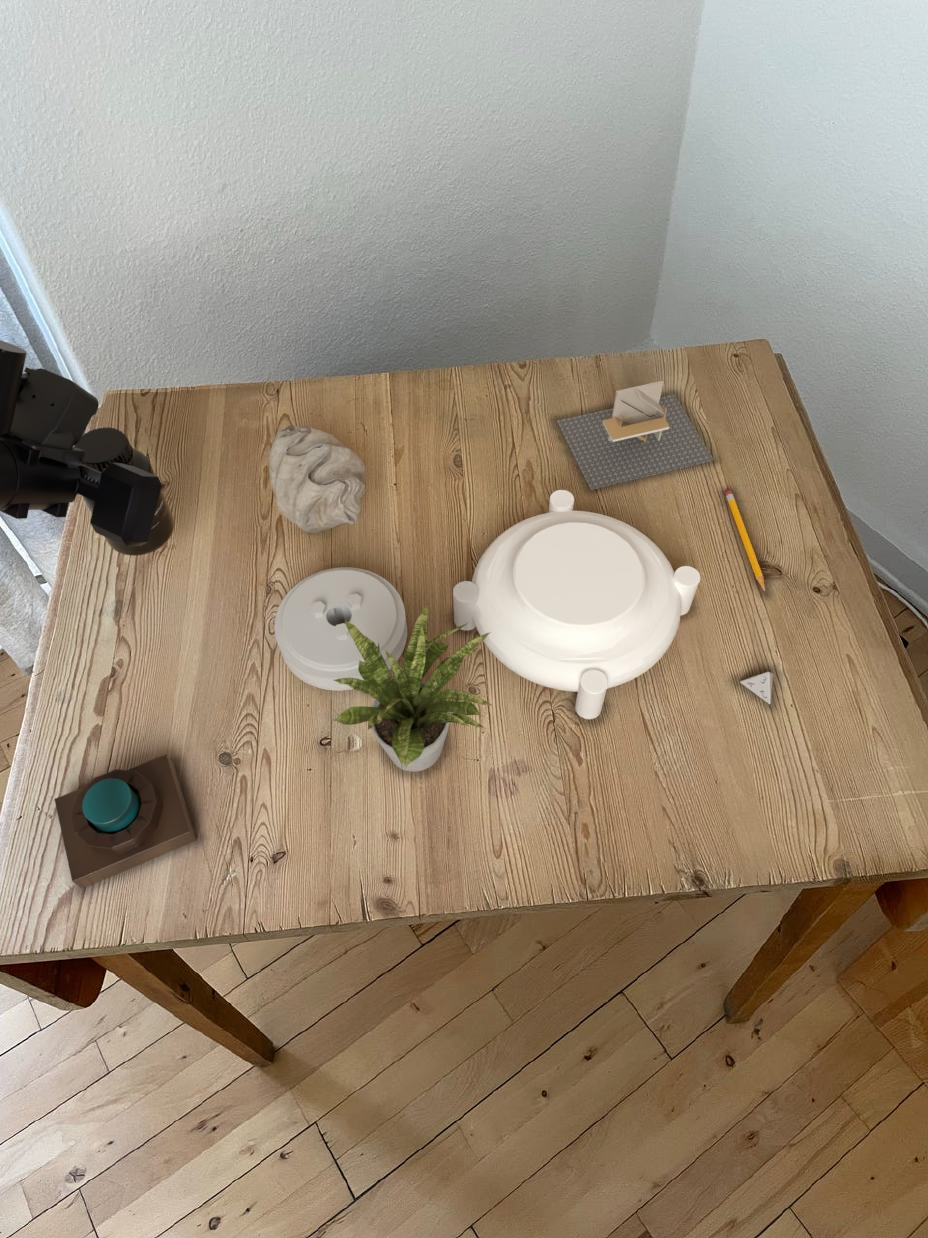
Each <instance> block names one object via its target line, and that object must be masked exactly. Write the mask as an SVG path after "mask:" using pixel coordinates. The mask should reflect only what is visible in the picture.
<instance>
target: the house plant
mask: <svg viewBox="0 0 928 1238" xmlns="http://www.w3.org/2000/svg"><path fill="white" fill-rule="evenodd" d="M428 607H429V604H427V605H425V607H424V608H423V609H422V611H421V613H420V614H419V615H418V617H417V619H416V621H415V623H414V626H413V628H412V631H411V634H410V639H409V641H408V645H407V648H406V651H405V653H404V657H403V661H402V667H401V666H400V665H399V664H398V662H397V663H396V661H395V659H394V658H393V656H392V655H390V654H389V653H388V652H387V651H386V654H387V657H388V659H389V662H390V665H391V667H392V668H391V670H392V673H393V675H394V677H393V675H392V673H391V670H389V669H388V666H387V664H386V662H385V660H384V658H383V657H382V655H381V653H380V649H379V642H378V647H377V646H376V644H375V643H374V642H373V641H372V640H370V639H369V638H367V637H366V636H364V635H363V634H362V633H361V632H360V631H359V629H358V628H357V627H356V626H355V625H353V624H351V623H349V622H347V621H345V624H346V626H347V628H348V630H349V633H350V635H351V637H352V639H353V640H354V642H355V644H356V646H357V648H358V650H359V652H360V653H361V655H362V657H363V659H364V661H365V662H362V661H360V660H359V668H358V670H359V673H360V675H361V676H362V678H363V679H364V680H365V681H364V680H361V679H357V678H341V679H336V680H333V681H336V682H338V683H340V684H346V685H348V686H350V687H351V688H353V689H352V690H355V691H358V692H362V693H364V694H367V695H369V697H371V698H373V699H374V701H373V702H372V705H371V706H363V705H362V706H351V707H349V708H347V709H345V710H344V711H343V712H341V713H339V715H337V716H336V717H335V718H333V720H332V722H333V721H335V722H338V723H340V724H342V725H346V726H347V725H348V726H349V725H350V726H351V725H358V724H362V723H366V722H367V731H369V730H371V732H372V734H373V735H374V737H375V739H376V740H377V742H378V743H379V744H380V746H381V748H383V750H384V751H385V753H386V754H387V755H388V757H389V758H390V760H391V761H392V763H393V764H394V765H395V766H396V767H397V768H399V769H401V770H403V771H405V772H410V773H411V772H422V771H424V770H425V771H426V770H427V769H429V768H431V767H433V766H434V765H435V763H436V762H437V761H438V760H439V758H440V757H441V755H442V751H443V749H444V745H445V741H446V739H447V734H448V731H449V728H450V725H451V723H452V724H453V723H454V724H459V725H462V726H466V727H469V726H470V725H471V726H473V727H475V728H482V729H485V727H484V726H483V725H482V724H480V723H479V722H478V721H477V720H475V719H474V718H471V717H470V716H480V717H482V714H481V713H480V710H479V709H478V708H477V706H476V705H477V704H478V705H480V706H492V704H491V703H490V702H488V701H487V700H485V699H483V698H482V697H480V696H477V695H475V694H472V693H470V692H468V691H465V690H460V689H453V688H452V689H451V688H448V689H443V688H444V686H445V685H447V684H448V683H449V682H450V681H451V680H452V679H453V678H454V677H455V676H456V674H457V673H458V671H459V670H460V667H461V665H462V663H463V662H464V661H465V659H466V658H467V657H469V656H470V655H472V654H474V653H475V652H476V651H477V650H478V649H479V647H477V646H479V645H480V644H481V643H482V642H483V640H484V639H485V638H486V637H487V635H488V634H489V633H486V634H484V635H482V636H480V635H479V636H477V637H475V638H474V639H472V640H470V641H469V642H467V643H465V644H464V645H462V646H461V647H460V648H459V649H458V650H456V651H455V652H454V653H452V654H451V655H450V656H449V657H447V658H444V659H443V660H442V661H440V663H439V664H438V665H437V667H436V669H435V670H434V672H433V674H432V675H431V676H430V678H429V680H428V681H427V682H426V681H423V679H424V677H425V676H426V675H427V673H428V672H429V670H430V669H431V667H432V666H433V665H434V664H435V663H436V662H437V661H438V659H440V658H441V657H442V656H443V655H444V654H445V653H446V652H447V650H448V648H449V645H450V644H449V643H445V642H439V641H441V640H442V639H444V638H446V637H448V636H450V635H452V634H454V633H457V631H459V630H461V629H460V628H462V627H463V626H465V625H466V624H465V625H462V626H460V627H456V628H453V629H451V630H448V631H446V632H443V633H441V634H439V635H436V636H435V637H433V638H432V639H430V640H429V637H428V630H427V629H428V628H427V625H428V621H429V620H428V619H429V610H428V609H429V608H428ZM344 620H345V618H344ZM467 624H468V623H467ZM490 633H491V632H490Z"/></svg>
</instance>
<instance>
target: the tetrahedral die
mask: <svg viewBox="0 0 928 1238" xmlns="http://www.w3.org/2000/svg"><path fill="white" fill-rule="evenodd" d="M773 681H774V673H772V672H770V671H765V672H763V673H760V674H757V675H754V676H752V677H751V676H750V677H748V678H746V679H742V680H740V681H739V683H740V684H742V685H743V686H744V687H745V688H747V689H748V690H749V691H751V693H753V694H755V695H756V696H758V698H761V699H762V700H763V701H764V702H765V703H767V704H768V705H771V704H772V703H771V701H772V693H773V692H772V691H773Z"/></svg>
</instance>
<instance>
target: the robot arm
mask: <svg viewBox="0 0 928 1238" xmlns="http://www.w3.org/2000/svg"><path fill="white" fill-rule="evenodd" d="M27 355H28V354H27V351H26V350H25V349H23V348H21V347H19V346H17V345H15V344H12V343H9V342H7V341H4V340H0V512H1V513H3V514H5V515H8V516H10V517H11V518H13V519H15V520H21V519H22V520H23V519H28V515H29V511H41V512H44V513H46V514H49V515H50V516H53V517H54V518H67V515H68V514H67V513H68V509H69V505H70V504H71V503H75V501H76V498H77V496H78V495H80V496H84V497H86V498H88V499H90V500H93V501H95V503H94V508H93V512H92V513H91V515H90V516H91V517H90V520H89V521H90V522H89V523H90V526H91V527H92V529H93V531H94V532H95V534H98V535H99V536H100V535H101V536H102V537H104V538H105V537H106V538H109V539H111V540H113V541H115V542H117V543H119V544H121V545H124V546H126V547H130V546H141V545H143V544H145V543H147V542H148V540H149V536H150V532H151V528H152V524H153V520H154V516H155V512H156V508H157V504H158V499H159V495H160V491H161V489H162V488H163V484H162V482H161V479H160V477H159V476H157V475H156V474H155V475H156V476H155V475H153V474H151V473H148V472H146V471H144V470H142V469H140V468H138V467H135V466H133V465H131V464H128V463H126V462H124V461H122V460H119V459H118V461H117V463H111V464H110V465H109V466H108V467H107V468H105V469H103V471H102V472H99V471H97V470H95V469H92V468H90V467H88V466H86V465H83V464H82V463H83V459H84V454H85V451H83V450H81V449H79V448H74V446H75V445H76V444H77V443H78V442H79V441H80V439H81V437H82V436H83V435H84V434H85V431H86V429H87V428H88V425H89V424H90V421H91V420H92V418H93V416H95V415H96V414H97V412H98V410H99V405H100V404H99V400H98V398H97V397H96V396H94V395H93V394H92V393H90V392H88V391H87V390H86V389H84V388H83V387H81V385H78V384H77V383H76V382H74V381H73V380H71V379H69V378H67V377H64V376H62V375H59V374H57V373H55V372H52V371H51V370H50V371H49V370H47V369H45V368H36V369H35V368H30V367H27V366H26V367H25V362H26V358H27ZM24 367H25V369H24ZM24 372H25V373H24ZM82 477H84V478H82ZM89 480H91V481H89ZM94 482H95V483H94ZM96 483H98V484H96Z"/></svg>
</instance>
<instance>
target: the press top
mask: <svg viewBox="0 0 928 1238" xmlns="http://www.w3.org/2000/svg"><path fill="white" fill-rule="evenodd" d="M138 808H139V801H138V797H137V795H136V794H135V793H134V791H133V790H132V789H131V788H130V787H129V786H128V785H127V784H126V783H125V782H124V781H122V780H120V779H115V778H109V779H104V780H102V781H99V782H98V783H96V784H95V785H93V786H92V787H91V788H90V789H89V790H88V792H87V793H86V795H85V797H84V800H83V812H84V815H85V816H86V818H87V819H88V820H89V821H90V822H91V823H93V824H94V825H95V826H96V827H97V828H98V829H100V830H102V831H106V832H113V831H118V830H121V829H123V828H124V827H126V826H127V825H129V824H130V823H131V822H132V821H133V819H134V818H135V816H136V814H137V812H138Z"/></svg>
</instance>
